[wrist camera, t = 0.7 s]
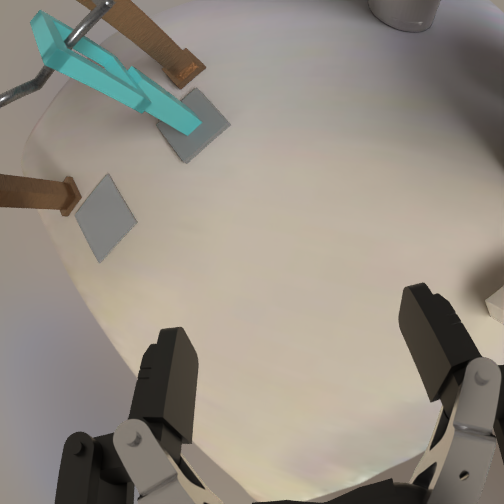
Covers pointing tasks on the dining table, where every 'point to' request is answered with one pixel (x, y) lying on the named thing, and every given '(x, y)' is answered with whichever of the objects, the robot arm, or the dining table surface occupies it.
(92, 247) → the slate pad
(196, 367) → the robot arm
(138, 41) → the bent wire rig
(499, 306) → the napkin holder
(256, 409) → the dining table surface
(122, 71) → the turquoise post on base
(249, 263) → the dining table surface
